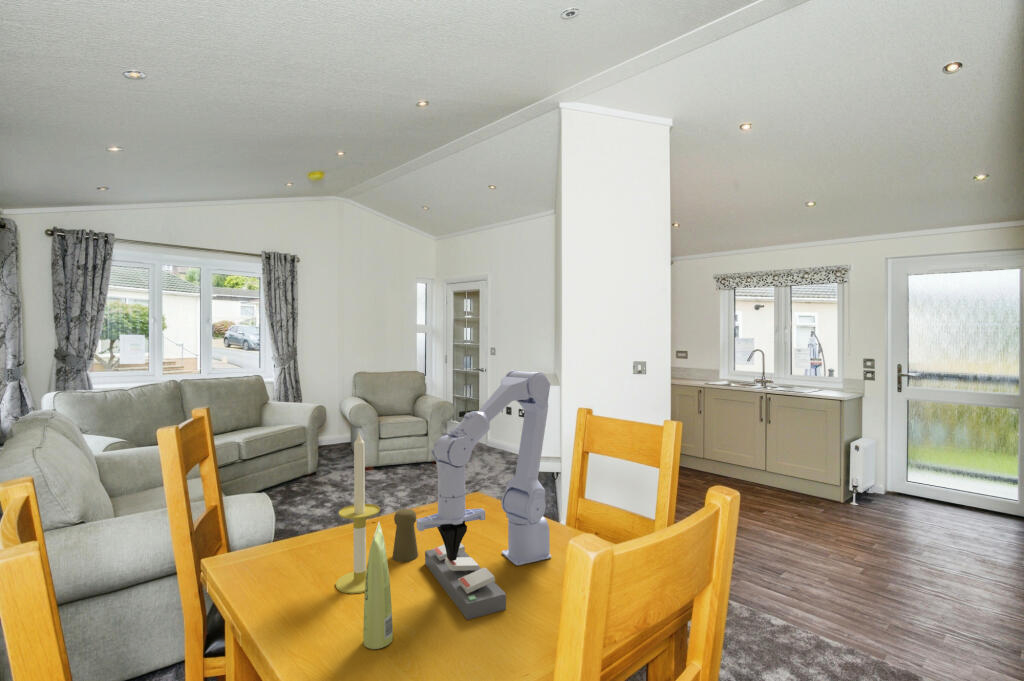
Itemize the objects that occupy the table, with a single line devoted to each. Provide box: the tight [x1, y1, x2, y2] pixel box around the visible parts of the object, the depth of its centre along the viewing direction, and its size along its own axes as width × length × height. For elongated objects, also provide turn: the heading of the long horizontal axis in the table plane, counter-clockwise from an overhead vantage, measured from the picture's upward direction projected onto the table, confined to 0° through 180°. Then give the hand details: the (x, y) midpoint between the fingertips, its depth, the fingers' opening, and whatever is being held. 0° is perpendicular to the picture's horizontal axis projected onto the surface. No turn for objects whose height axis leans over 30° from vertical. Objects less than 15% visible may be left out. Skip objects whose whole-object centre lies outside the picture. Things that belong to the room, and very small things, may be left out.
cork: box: [392, 508, 419, 563], centre depth 121 cm, size 6×6×11 cm
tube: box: [362, 521, 394, 650], centre depth 87 cm, size 6×5×20 cm
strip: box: [424, 548, 507, 621], centre depth 107 cm, size 8×26×4 cm, turn 27°
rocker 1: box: [432, 542, 466, 561], centre depth 114 cm, size 6×4×1 cm
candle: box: [334, 430, 381, 595], centre depth 108 cm, size 10×10×32 cm
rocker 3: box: [458, 567, 496, 594], centre depth 100 cm, size 6×4×1 cm
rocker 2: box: [445, 556, 480, 571], centre depth 107 cm, size 6×4×1 cm
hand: (451, 558), depth 106 cm, fingers closed
